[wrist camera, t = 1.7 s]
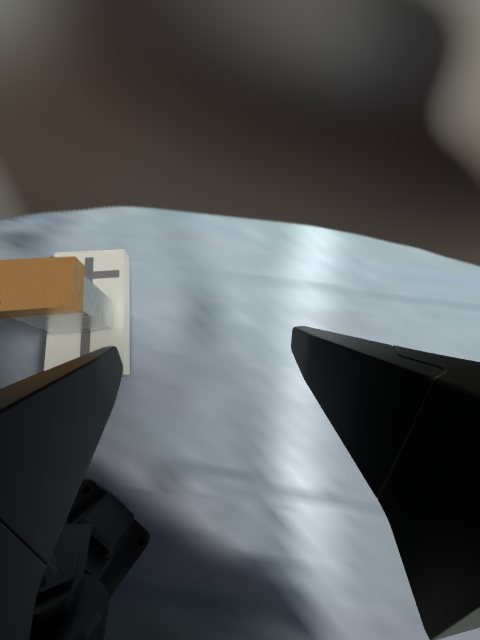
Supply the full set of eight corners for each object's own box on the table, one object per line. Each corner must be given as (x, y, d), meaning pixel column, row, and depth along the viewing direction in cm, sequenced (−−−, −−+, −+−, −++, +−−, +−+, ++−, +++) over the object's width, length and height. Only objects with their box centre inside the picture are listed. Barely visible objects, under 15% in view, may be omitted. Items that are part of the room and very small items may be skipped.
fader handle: (116, 332, 20) (71, 305, 14) (50, 339, 20) (-28, 313, 13) (116, 297, 21) (74, 256, 15) (54, 301, 21) (-18, 261, 14)
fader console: (129, 375, 21) (123, 373, 20) (54, 383, 20) (42, 383, 19) (129, 257, 24) (123, 248, 23) (64, 261, 24) (54, 252, 22)
